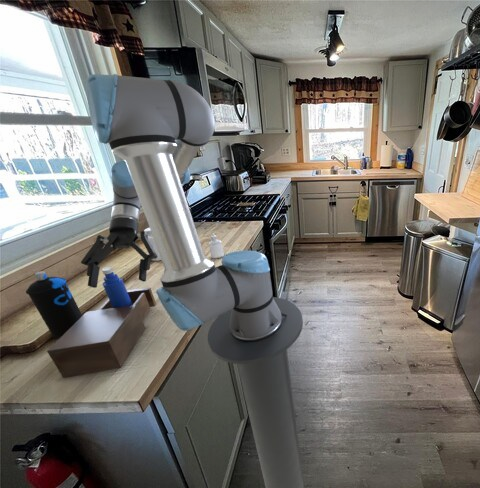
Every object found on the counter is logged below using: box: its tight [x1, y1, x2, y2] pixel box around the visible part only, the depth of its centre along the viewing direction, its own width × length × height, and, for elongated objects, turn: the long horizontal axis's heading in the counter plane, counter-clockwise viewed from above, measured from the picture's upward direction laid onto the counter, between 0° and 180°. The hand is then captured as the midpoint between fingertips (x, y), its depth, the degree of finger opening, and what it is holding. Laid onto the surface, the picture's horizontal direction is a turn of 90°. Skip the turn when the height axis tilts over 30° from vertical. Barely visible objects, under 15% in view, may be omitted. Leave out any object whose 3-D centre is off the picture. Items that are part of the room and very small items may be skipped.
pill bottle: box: [143, 227, 162, 262], centre depth 123 cm, size 8×8×15 cm
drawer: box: [97, 287, 157, 322], centre depth 82 cm, size 18×12×7 cm, turn 12°
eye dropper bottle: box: [208, 232, 225, 259], centre depth 122 cm, size 4×6×12 cm
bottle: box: [101, 266, 132, 308], centre depth 78 cm, size 5×5×17 cm
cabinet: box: [46, 305, 146, 379], centre depth 69 cm, size 15×13×9 cm
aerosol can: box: [25, 270, 83, 339], centre depth 76 cm, size 8×8×20 cm
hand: (117, 283), depth 78 cm, fingers open, 13 cm apart
